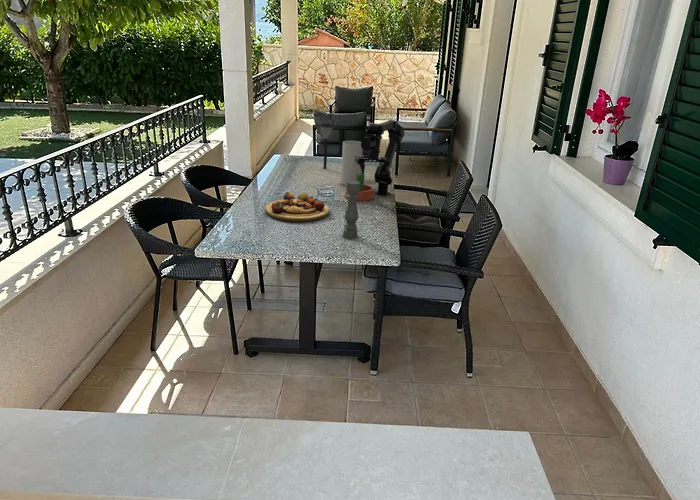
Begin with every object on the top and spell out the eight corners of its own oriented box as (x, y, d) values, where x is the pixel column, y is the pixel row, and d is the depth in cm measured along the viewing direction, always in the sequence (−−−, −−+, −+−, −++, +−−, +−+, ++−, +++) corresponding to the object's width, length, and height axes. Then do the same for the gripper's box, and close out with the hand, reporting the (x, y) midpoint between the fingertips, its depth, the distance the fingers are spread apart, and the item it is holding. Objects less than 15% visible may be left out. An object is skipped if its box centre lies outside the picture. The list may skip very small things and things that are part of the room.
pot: (354, 191, 293) (354, 182, 290) (377, 196, 285) (378, 187, 283) (339, 197, 280) (340, 187, 278) (364, 203, 273) (365, 193, 271)
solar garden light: (317, 165, 345) (319, 120, 333) (335, 167, 343) (337, 122, 332) (314, 169, 333) (315, 123, 322) (332, 171, 332) (334, 125, 320)
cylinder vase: (350, 188, 298) (352, 145, 289) (336, 183, 307) (338, 141, 297) (365, 185, 306) (368, 143, 296) (352, 180, 315) (354, 140, 305)
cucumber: (357, 194, 285) (359, 171, 280) (364, 196, 283) (365, 173, 278) (354, 196, 282) (355, 173, 277) (360, 197, 280) (362, 174, 275)
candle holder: (342, 233, 229) (345, 180, 219) (356, 234, 230) (359, 180, 220) (343, 238, 223) (346, 184, 213) (357, 239, 224) (361, 184, 214)
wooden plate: (278, 226, 233) (278, 209, 230) (256, 205, 259) (256, 190, 256) (340, 218, 247) (340, 202, 244) (314, 199, 273) (314, 185, 270)
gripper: (385, 144, 280) (381, 171, 286) (353, 143, 274) (350, 171, 281) (392, 149, 270) (388, 177, 277) (359, 148, 265) (356, 177, 271)
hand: (370, 175), depth 277 cm, fingers open, 9 cm apart
